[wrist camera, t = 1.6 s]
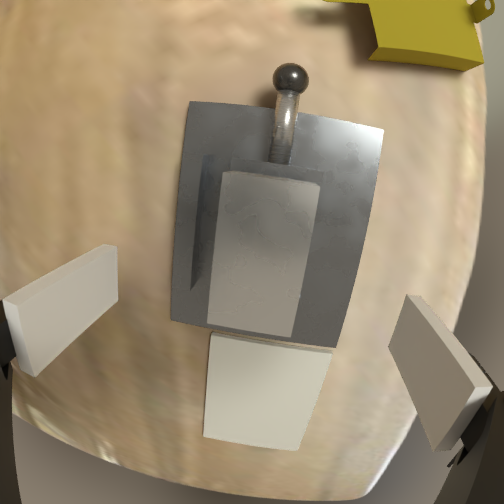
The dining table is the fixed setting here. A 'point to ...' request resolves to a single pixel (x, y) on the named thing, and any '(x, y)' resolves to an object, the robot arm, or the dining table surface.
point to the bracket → (427, 31)
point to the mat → (261, 391)
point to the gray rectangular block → (260, 251)
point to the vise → (286, 166)
